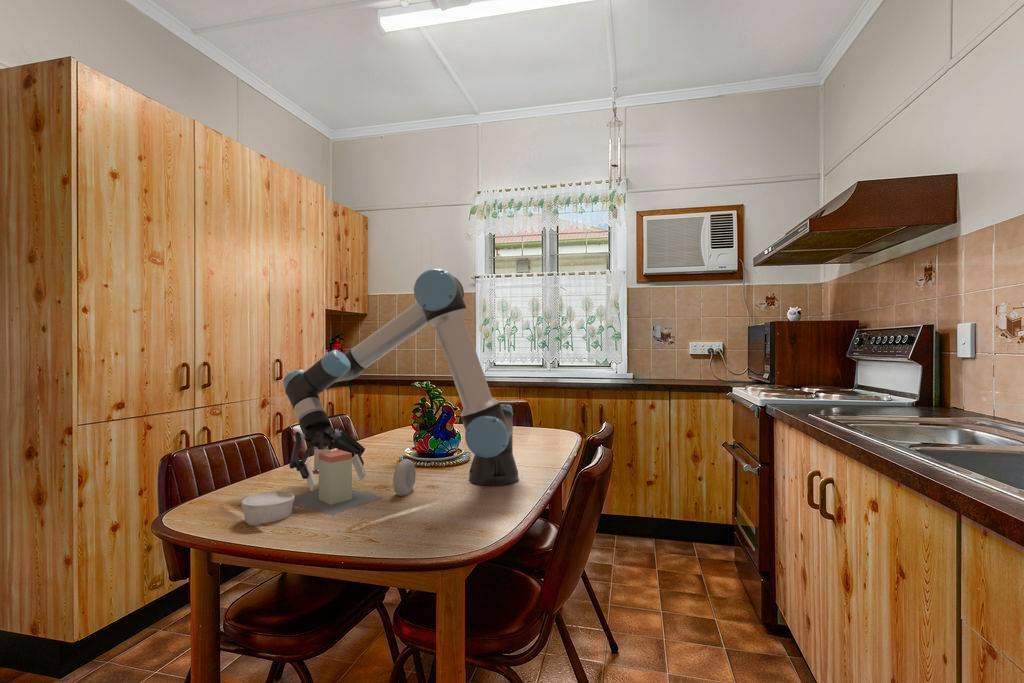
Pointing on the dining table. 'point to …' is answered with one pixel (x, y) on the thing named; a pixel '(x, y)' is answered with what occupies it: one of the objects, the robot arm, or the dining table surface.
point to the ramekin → (267, 507)
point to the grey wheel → (404, 477)
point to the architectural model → (316, 457)
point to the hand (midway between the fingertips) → (339, 482)
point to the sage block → (335, 476)
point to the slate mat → (314, 503)
